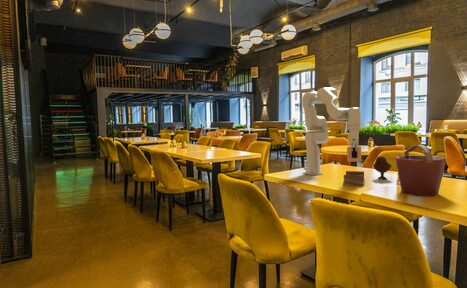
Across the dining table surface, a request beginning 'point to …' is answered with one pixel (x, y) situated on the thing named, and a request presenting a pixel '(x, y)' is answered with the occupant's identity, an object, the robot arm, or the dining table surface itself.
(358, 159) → the tile
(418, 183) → the bucket
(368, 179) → the dining table surface
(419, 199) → the dining table surface
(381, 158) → the ice cream bowl
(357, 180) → the rack
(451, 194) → the dining table surface
